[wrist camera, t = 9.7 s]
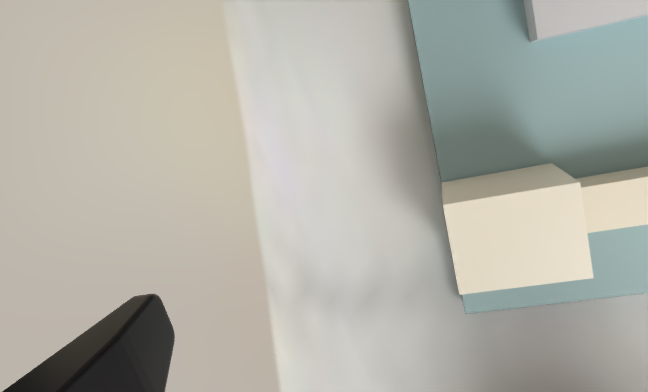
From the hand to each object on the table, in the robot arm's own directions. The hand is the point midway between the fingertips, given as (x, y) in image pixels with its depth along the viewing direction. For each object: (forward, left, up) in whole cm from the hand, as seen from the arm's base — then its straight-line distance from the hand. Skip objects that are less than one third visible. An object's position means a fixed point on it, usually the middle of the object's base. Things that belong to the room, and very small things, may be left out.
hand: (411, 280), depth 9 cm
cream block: (-2, -6, -12) cm, 13 cm away
